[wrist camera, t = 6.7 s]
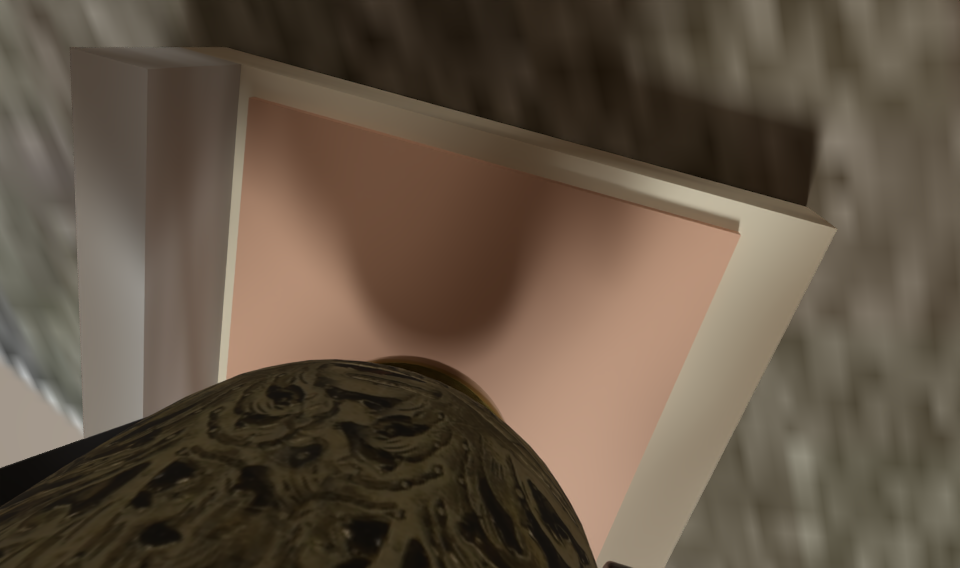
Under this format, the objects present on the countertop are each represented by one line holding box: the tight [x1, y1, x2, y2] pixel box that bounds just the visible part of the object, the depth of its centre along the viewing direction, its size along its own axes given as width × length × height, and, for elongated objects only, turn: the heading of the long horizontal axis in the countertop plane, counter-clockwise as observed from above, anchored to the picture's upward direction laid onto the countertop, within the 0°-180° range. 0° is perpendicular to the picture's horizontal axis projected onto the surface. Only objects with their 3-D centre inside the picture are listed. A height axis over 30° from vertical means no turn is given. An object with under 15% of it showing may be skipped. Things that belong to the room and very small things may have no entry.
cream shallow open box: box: [70, 47, 837, 568], centre depth 12 cm, size 12×10×4 cm
